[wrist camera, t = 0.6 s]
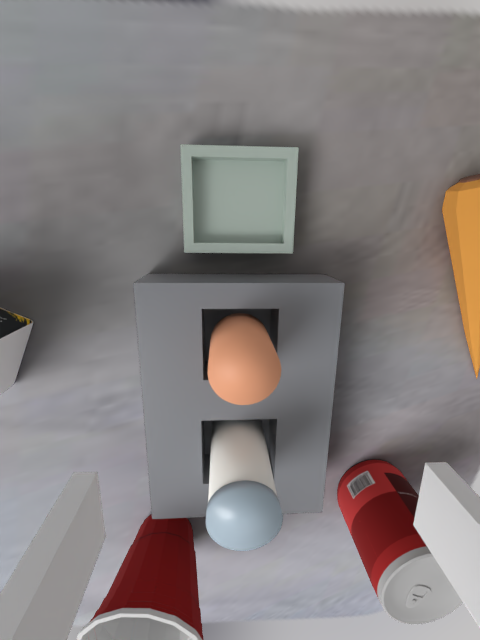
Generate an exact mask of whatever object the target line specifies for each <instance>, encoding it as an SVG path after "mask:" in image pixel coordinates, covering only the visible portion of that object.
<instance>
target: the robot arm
mask: <svg viewBox="0 0 480 640" xmlns="http://www.w3.org/2000/svg"><path fill="white" fill-rule="evenodd" d="M413 525H414V527H415V529H416V530H417V532H418V533H419V535H420V536H421V538H422V539H423V541H424V543H425V544H426V546H427V547H428V549H429V550H430V552H431V553H432V555H433V557H434V558H435V560H436V561H437V563H438V564H439V566H440V567H441V569H442V571H443V572H444V574H445V575H446V577H447V578H448V580H449V581H450V583H451V585H452V586H453V588H454V589H455V591H456V592H457V594H458V595H459V597H460V599H461V600H462V602H463V603H464V605H465V606H466V608H467V609H468V611H469V612H470V614H471V616H472V617H473V619H474V620H475V622H476V623H477V625H478V627H479V628H480V497H479V496H478V495H477V494H476V493H475V492H474V491H473V489H472V488H471V487H470V486H469V485H468V484H467V483H466V482H465V481H464V480H463V479H462V478H461V477H460V476H459V475H458V474H457V473H456V472H455V471H454V470H453V469H452V467H451V466H450V465H449V464H448V463H447V462H433V463H425V467H424V472H423V477H422V482H421V487H420V492H419V498H418V503H417V508H416V513H415V518H414V523H413ZM105 537H106V535H105V528H104V520H103V512H102V505H101V497H100V489H99V481H98V474H97V472H80V473H73V475H72V476H71V478H70V480H69V481H68V483H67V484H66V486H65V488H64V489H63V491H62V493H61V494H60V496H59V498H58V499H57V501H56V503H55V504H54V506H53V508H52V509H51V511H50V512H49V514H48V516H47V517H46V519H45V521H44V522H43V524H42V526H41V527H40V529H39V531H38V532H37V534H36V536H35V537H34V539H33V541H32V542H31V544H30V545H29V547H28V549H27V550H26V552H25V554H24V555H23V557H22V559H21V560H20V562H19V564H18V565H17V567H16V569H15V570H14V572H13V573H12V575H11V577H10V578H9V580H8V582H7V583H6V585H5V587H4V588H3V590H2V592H1V593H0V640H67V638H68V635H69V633H70V630H71V627H72V625H73V622H74V619H75V617H76V614H77V612H78V609H79V606H80V604H81V601H82V598H83V596H84V593H85V590H86V588H87V585H88V582H89V580H90V577H91V574H92V572H93V569H94V566H95V564H96V561H97V559H98V556H99V553H100V551H101V548H102V545H103V543H104V540H105Z"/></svg>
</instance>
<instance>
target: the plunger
mask: <svg viewBox="0 0 480 640" xmlns="http://www.w3.org/2000/svg"><path fill="white" fill-rule="evenodd" d="M280 377H281V363H280V360H279V357H278V355H277V353H276V350H275V348H274V346H273V344H272V341H271V339H270V337H269V335H268V332H267V330H266V328H265V326H264V325H263V324H262V322H261V321H260V320H258V319H257V318H256V317H254V316H252V315H249V314H245V313H235V314H231V315H228V316H226V317H224V318H223V319H221V320H220V321H219V322H218V323H217V324H216V326H215V327H214V329H213V331H212V334H211V339H210V350H209V360H208V380H209V383H210V385H211V387H212V389H213V390H214V392H215V393H216V394H217V395H218V396H219V397H220V398H222V399H223V400H225V401H227V402H229V403H232V404H237V405H250V404H254V403H257V402H260V401H262V400H264V399H265V398H267V397H268V396H269V395H270V394H271V393H272V392H273V391H274V390H275V388H276V387H277V385H278V383H279V381H280Z"/></svg>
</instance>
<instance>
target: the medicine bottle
mask: <svg viewBox="0 0 480 640" xmlns="http://www.w3.org/2000/svg"><path fill="white" fill-rule="evenodd" d="M32 326H33V321H32V320H31V319H29V318H26V317H23V316H21V315H18V314H16V313H13V312H10V311H8V310H5V309H3V308H0V395H1V394H2V393H4V392H5V391H6V390H8V389H9V388H10V387H12V386H13V385H14V383H15V380H16V377H17V374H18V370H19V367H20V364H21V361H22V358H23V354H24V351H25V348H26V345H27V342H28V338H29V335H30V332H31V329H32Z"/></svg>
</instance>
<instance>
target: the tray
mask: <svg viewBox="0 0 480 640" xmlns="http://www.w3.org/2000/svg"><path fill="white" fill-rule="evenodd" d="M180 149H181V177H182V205H183V233H184V253H293V242H294V224H295V205H296V186H297V168H298V149H299V147H261V146H221V145H181V144H180Z"/></svg>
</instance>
